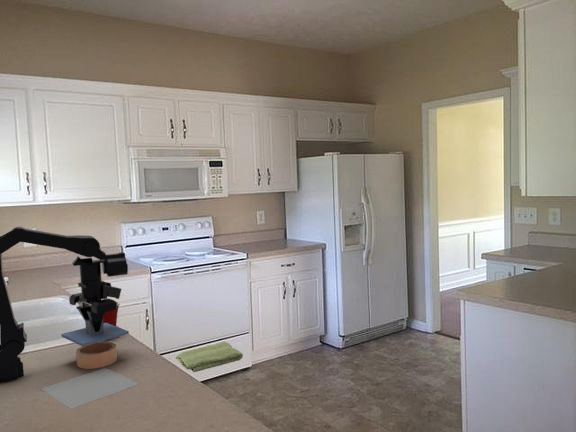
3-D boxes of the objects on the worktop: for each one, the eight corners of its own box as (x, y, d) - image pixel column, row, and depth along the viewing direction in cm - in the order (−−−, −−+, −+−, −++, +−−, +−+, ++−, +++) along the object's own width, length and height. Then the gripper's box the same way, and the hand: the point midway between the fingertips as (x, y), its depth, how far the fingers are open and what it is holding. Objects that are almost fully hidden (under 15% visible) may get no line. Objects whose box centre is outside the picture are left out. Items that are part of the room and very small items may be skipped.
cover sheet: (82, 346, 142) (81, 329, 142) (61, 336, 152) (60, 320, 151) (128, 333, 152) (127, 317, 152) (106, 325, 162) (105, 310, 161)
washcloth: (173, 361, 154) (173, 350, 154) (227, 349, 163) (227, 339, 163) (188, 375, 143) (187, 364, 143) (245, 361, 152) (245, 351, 151)
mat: (70, 412, 122) (70, 408, 122) (40, 392, 134) (40, 388, 134) (138, 387, 135) (138, 384, 135) (105, 371, 147) (105, 367, 147)
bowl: (88, 374, 145) (86, 357, 144) (71, 365, 152) (69, 349, 152) (123, 363, 153) (122, 346, 152) (105, 355, 160) (104, 339, 160)
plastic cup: (118, 330, 185) (116, 298, 184) (125, 338, 176) (123, 304, 175) (86, 336, 180) (84, 303, 179) (92, 345, 170) (89, 309, 169)
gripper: (132, 277, 150) (135, 329, 151) (101, 270, 162) (105, 318, 164) (95, 284, 142) (99, 339, 143) (66, 276, 154) (70, 327, 156)
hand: (94, 330), depth 152 cm, fingers closed on cover sheet, 3 cm apart
